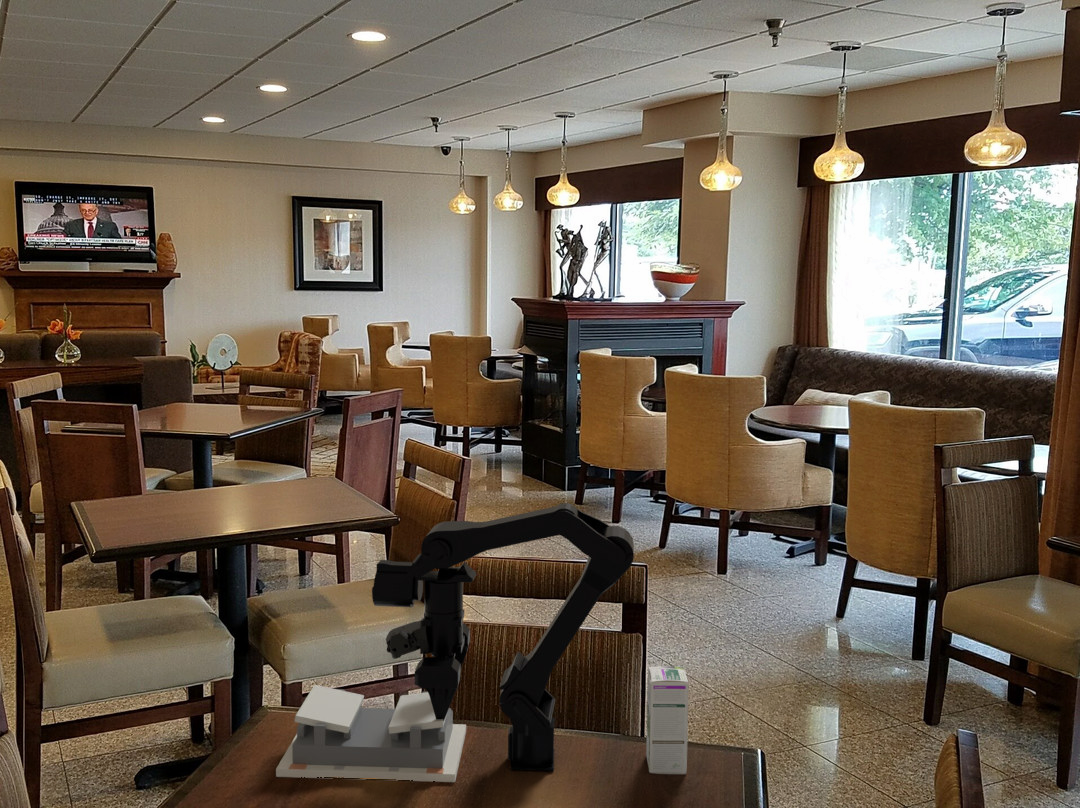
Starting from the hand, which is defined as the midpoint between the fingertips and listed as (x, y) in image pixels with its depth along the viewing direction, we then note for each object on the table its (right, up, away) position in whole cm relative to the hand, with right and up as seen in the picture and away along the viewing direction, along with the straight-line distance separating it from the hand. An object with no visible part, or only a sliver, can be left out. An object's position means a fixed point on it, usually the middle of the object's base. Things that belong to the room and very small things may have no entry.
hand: (444, 707), depth 149 cm
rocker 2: (-3, -1, 0) cm, 4 cm away
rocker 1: (-17, -1, +1) cm, 17 cm away
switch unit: (-10, -7, +1) cm, 13 cm away
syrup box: (+33, -9, -1) cm, 35 cm away
